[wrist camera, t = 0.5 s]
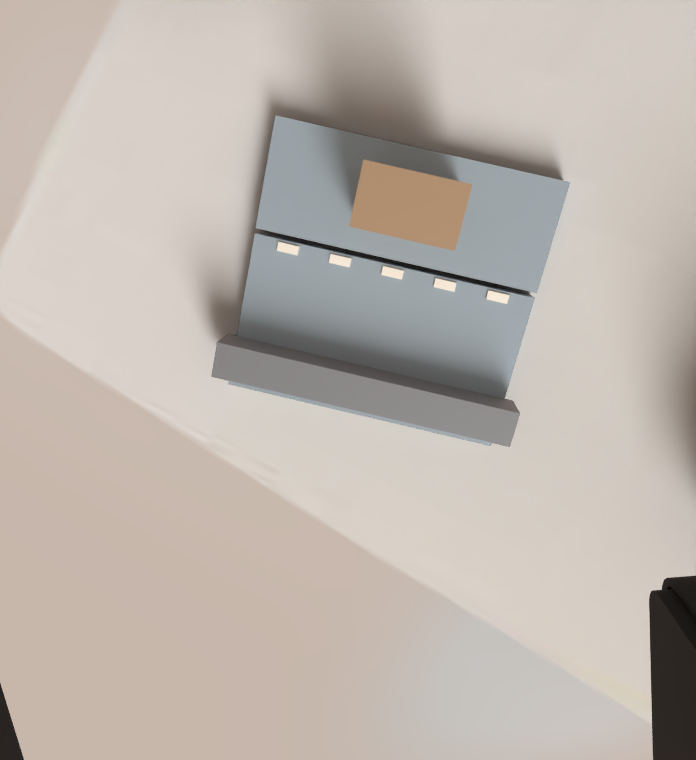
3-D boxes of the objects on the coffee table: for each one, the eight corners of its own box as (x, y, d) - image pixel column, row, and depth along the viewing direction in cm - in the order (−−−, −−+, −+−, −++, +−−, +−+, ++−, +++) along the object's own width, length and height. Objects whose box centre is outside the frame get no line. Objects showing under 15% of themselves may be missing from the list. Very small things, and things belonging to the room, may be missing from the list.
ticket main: (250, 230, 38) (235, 233, 34) (539, 297, 37) (553, 306, 34) (225, 377, 40) (208, 393, 37) (495, 440, 40) (504, 463, 36)
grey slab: (279, 117, 36) (250, 97, 29) (564, 182, 35) (604, 177, 29) (259, 227, 37) (227, 232, 30) (532, 290, 37) (562, 309, 30)
